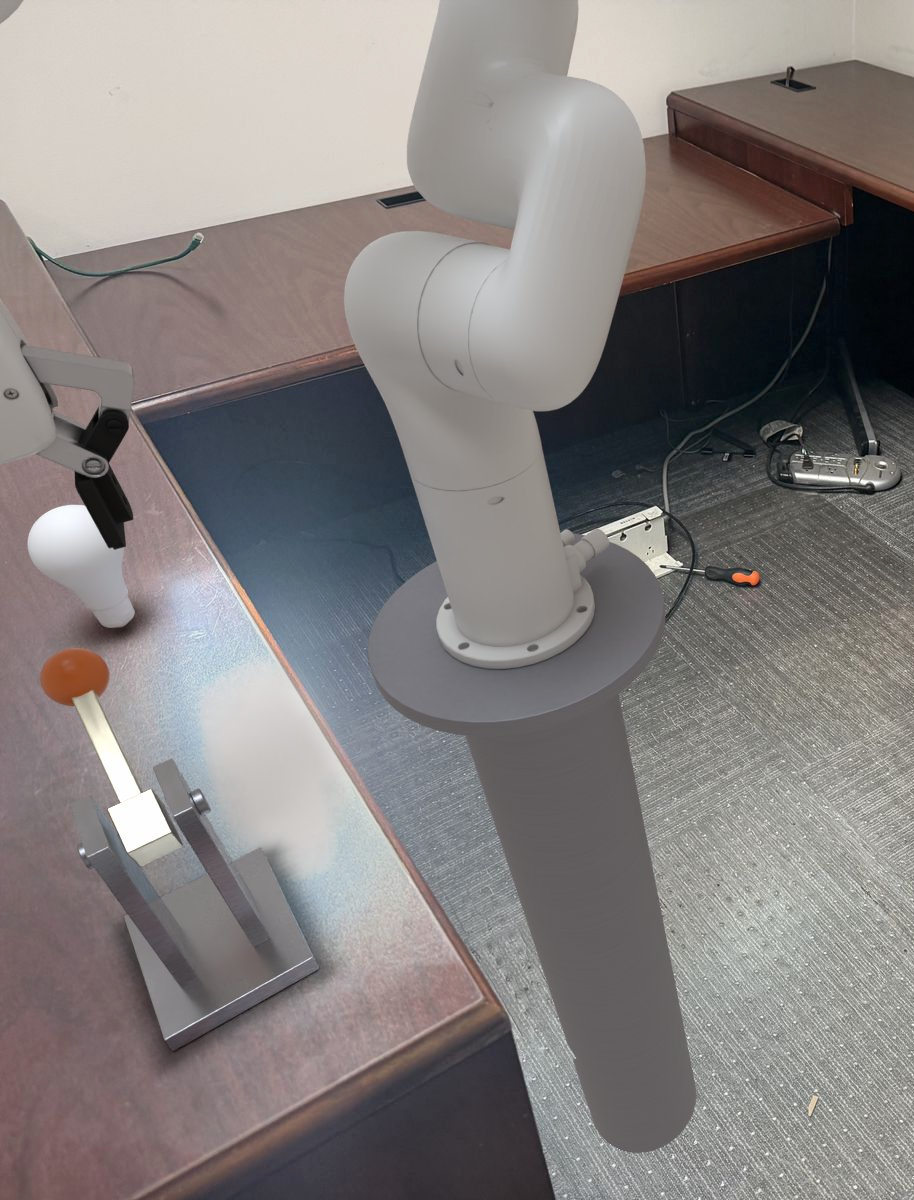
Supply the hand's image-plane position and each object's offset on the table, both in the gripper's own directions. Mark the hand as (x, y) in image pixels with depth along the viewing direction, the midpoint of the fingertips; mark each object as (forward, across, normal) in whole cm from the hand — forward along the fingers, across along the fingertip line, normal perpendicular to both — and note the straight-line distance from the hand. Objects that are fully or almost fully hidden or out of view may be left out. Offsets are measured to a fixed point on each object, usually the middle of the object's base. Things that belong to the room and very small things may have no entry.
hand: (10, 565), depth 54 cm
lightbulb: (+24, +3, -29) cm, 38 cm away
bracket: (+24, -1, +7) cm, 25 cm away
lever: (+12, 0, +2) cm, 12 cm away
